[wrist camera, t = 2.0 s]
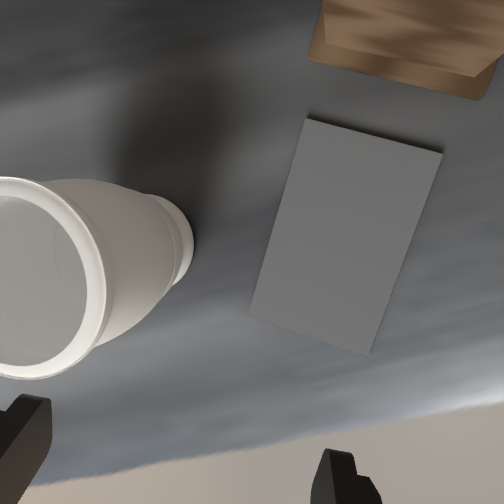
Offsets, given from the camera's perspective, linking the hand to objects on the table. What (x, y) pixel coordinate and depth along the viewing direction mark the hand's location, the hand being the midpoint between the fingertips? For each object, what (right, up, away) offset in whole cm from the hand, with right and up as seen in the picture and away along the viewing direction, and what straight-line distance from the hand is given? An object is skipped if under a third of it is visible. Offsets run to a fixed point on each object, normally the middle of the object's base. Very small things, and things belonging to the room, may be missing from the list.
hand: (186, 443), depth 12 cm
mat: (+8, +6, +19) cm, 22 cm away
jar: (-7, +6, +23) cm, 25 cm away
